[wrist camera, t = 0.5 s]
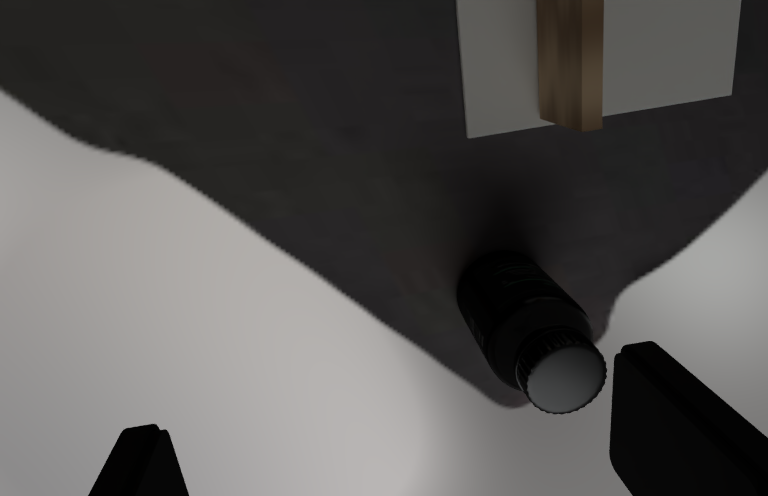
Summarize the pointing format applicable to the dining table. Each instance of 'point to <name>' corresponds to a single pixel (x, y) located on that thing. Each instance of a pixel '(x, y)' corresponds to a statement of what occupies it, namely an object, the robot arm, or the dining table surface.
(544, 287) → the supplement bottle
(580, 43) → the gate panel
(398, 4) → the dining table surface
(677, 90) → the card
